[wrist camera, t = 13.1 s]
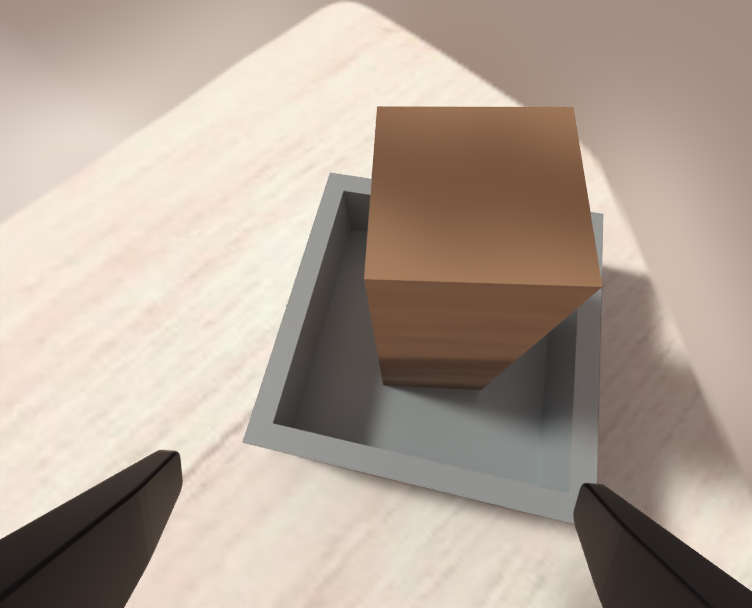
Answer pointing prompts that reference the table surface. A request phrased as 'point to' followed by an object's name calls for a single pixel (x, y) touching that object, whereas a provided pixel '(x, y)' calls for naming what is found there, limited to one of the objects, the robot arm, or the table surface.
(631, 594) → the robot arm
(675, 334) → the table surface
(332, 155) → the table surface
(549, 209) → the walnut block
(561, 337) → the box
